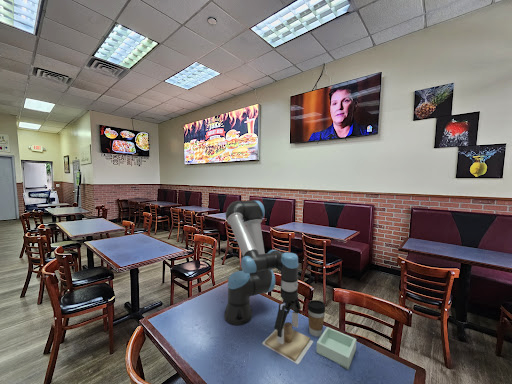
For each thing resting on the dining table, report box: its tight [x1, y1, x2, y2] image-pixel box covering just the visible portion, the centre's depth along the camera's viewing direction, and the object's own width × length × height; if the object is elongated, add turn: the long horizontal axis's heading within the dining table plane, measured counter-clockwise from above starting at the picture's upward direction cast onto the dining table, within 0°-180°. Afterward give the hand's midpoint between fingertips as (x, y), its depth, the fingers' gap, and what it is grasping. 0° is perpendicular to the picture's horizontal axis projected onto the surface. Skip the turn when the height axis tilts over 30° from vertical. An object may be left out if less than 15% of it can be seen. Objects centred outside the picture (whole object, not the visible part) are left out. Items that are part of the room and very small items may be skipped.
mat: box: [261, 329, 314, 365], centre depth 98 cm, size 18×16×1 cm
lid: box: [264, 321, 311, 362], centre depth 98 cm, size 15×15×8 cm
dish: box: [315, 326, 357, 371], centre depth 94 cm, size 13×13×5 cm
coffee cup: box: [306, 299, 326, 338], centre depth 105 cm, size 8×8×15 cm
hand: (288, 334), depth 98 cm, fingers open, 13 cm apart
